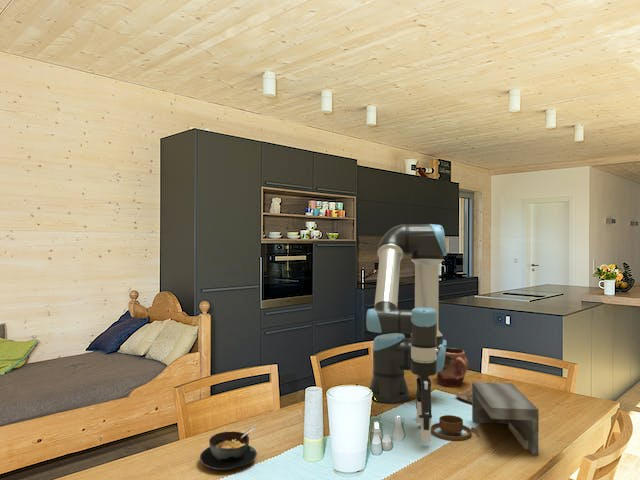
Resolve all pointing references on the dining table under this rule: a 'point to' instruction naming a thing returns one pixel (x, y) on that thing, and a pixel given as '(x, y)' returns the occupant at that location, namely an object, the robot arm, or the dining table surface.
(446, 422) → the place setting
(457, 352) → the decorative planter
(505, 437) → the dining table surface
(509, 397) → the shelf
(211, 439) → the soup bowl
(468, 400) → the shell
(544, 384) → the dining table surface
